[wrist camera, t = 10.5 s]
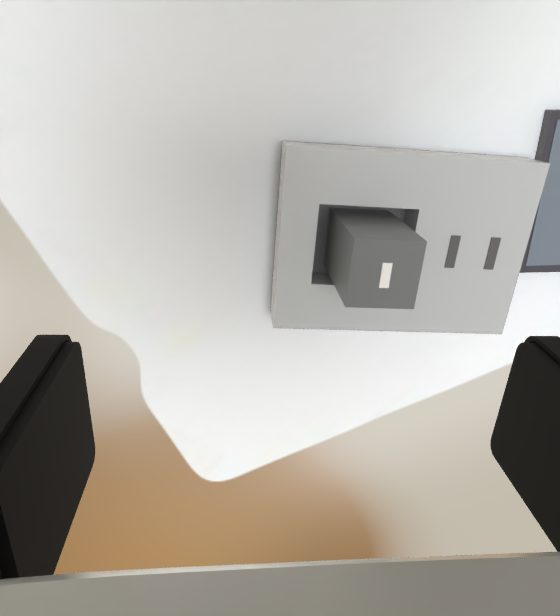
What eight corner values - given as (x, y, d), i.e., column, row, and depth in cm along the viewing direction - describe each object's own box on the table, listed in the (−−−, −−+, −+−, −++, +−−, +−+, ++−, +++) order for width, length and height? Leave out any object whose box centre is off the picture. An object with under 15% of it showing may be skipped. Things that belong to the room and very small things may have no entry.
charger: (330, 207, 36) (354, 238, 29) (388, 210, 37) (427, 242, 29) (323, 264, 38) (345, 308, 31) (379, 266, 38) (414, 309, 31)
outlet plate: (282, 140, 35) (286, 146, 32) (526, 157, 36) (551, 163, 34) (270, 311, 40) (273, 328, 37) (484, 317, 42) (502, 334, 39)
